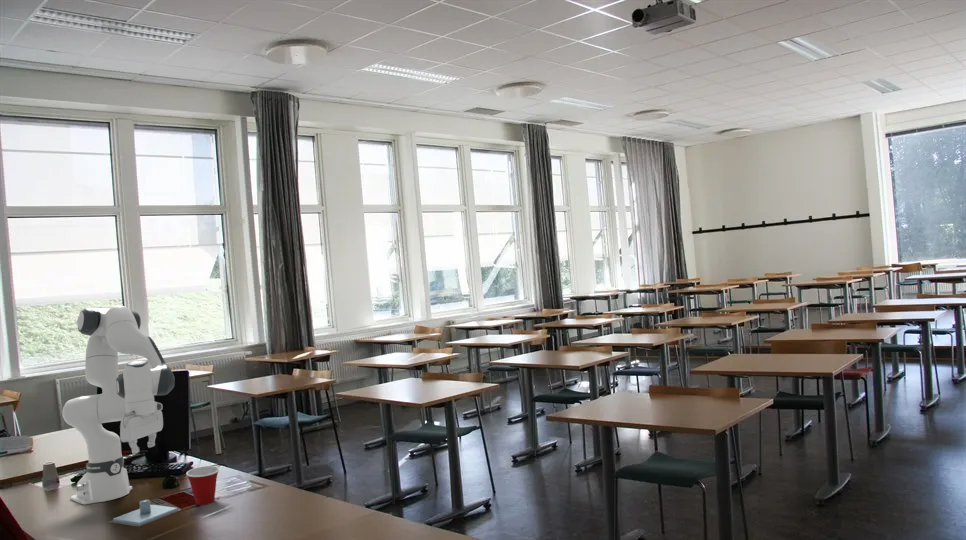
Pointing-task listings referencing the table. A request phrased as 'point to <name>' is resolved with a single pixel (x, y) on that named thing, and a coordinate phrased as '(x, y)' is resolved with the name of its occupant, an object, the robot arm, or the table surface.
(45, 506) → the table surface
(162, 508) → the lid
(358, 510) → the table surface
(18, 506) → the table surface
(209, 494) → the plastic cup
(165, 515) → the grey flat square plate
